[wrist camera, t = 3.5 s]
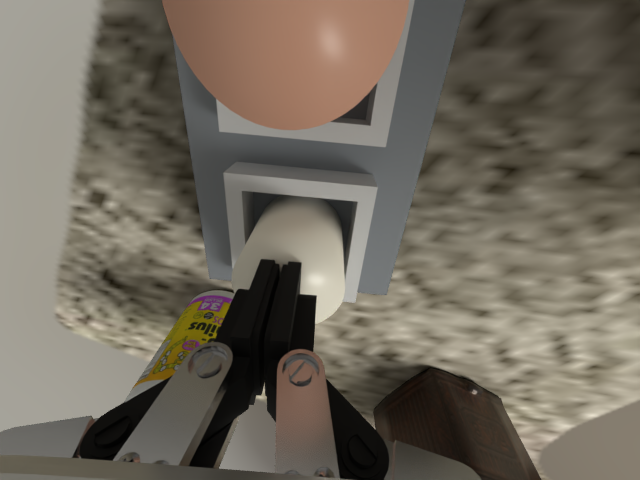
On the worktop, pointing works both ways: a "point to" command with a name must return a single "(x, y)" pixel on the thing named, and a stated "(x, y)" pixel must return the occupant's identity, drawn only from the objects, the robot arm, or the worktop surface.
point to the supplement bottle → (186, 337)
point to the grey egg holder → (326, 156)
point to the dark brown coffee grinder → (455, 425)
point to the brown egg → (287, 54)
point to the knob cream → (298, 249)
